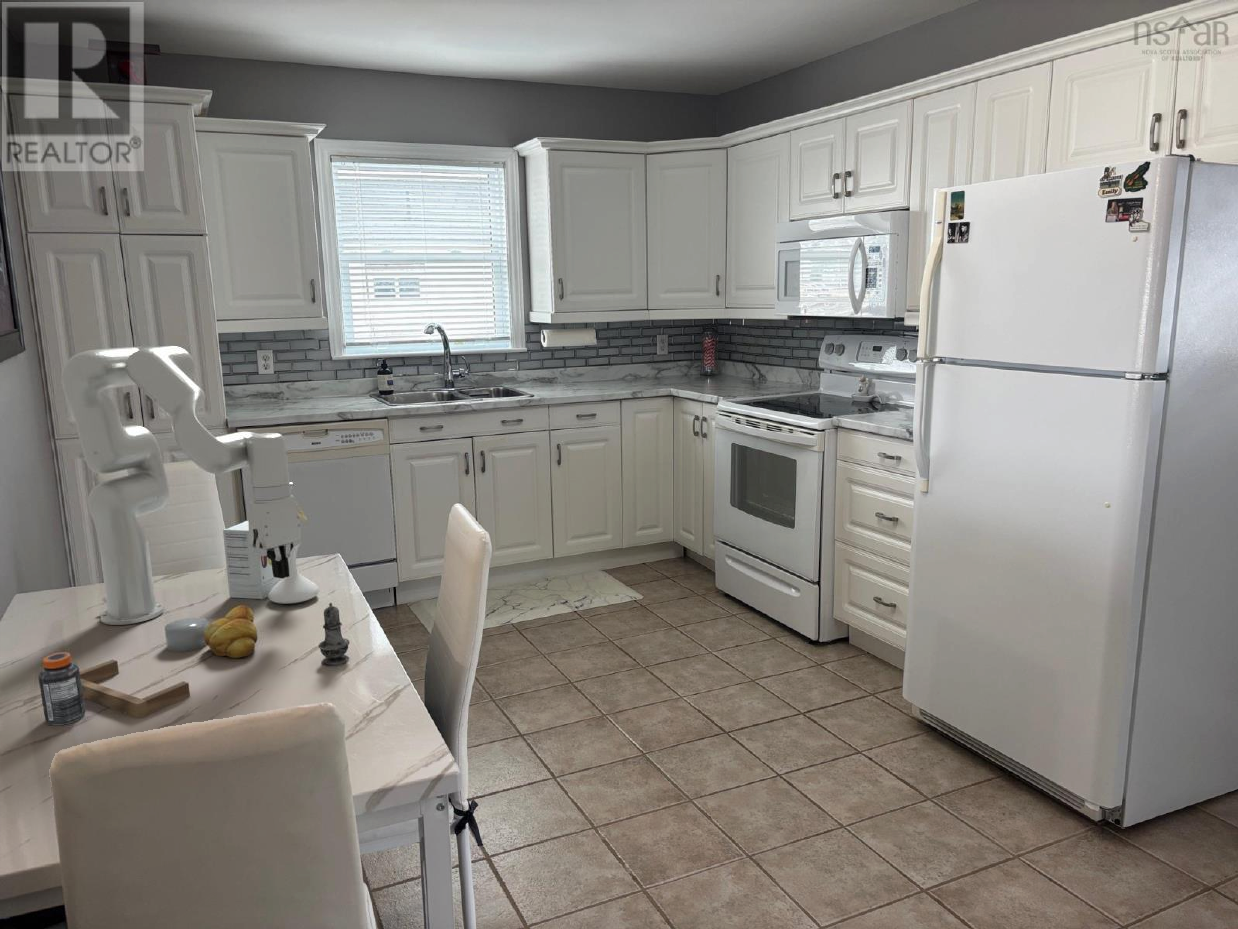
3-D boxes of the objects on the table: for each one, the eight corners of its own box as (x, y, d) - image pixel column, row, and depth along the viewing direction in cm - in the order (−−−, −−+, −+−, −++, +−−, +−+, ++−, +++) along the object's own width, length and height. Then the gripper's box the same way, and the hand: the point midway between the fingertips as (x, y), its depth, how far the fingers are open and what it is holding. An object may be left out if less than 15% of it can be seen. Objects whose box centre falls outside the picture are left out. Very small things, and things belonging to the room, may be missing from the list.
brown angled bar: (63, 691, 164) (61, 678, 163) (114, 671, 172) (112, 659, 171) (139, 718, 152) (138, 704, 152) (190, 696, 161) (188, 683, 160)
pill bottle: (57, 711, 156) (47, 650, 153) (92, 709, 156) (83, 648, 154) (38, 727, 150) (28, 664, 148) (74, 725, 150) (65, 662, 148)
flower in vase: (316, 605, 207) (307, 500, 202) (264, 610, 204) (254, 503, 200) (323, 588, 219) (314, 488, 214) (274, 592, 217) (264, 491, 212)
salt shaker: (357, 656, 177) (352, 599, 174) (338, 668, 171) (333, 609, 169) (332, 653, 179) (327, 596, 176) (313, 665, 173) (308, 606, 171)
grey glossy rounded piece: (158, 648, 183) (156, 627, 182) (193, 635, 190) (191, 615, 189) (183, 655, 179) (180, 634, 179) (218, 641, 186) (216, 621, 185)
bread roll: (264, 656, 178) (260, 618, 176) (211, 667, 173) (206, 628, 172) (253, 636, 189) (250, 600, 187) (203, 646, 184) (199, 609, 182)
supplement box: (263, 600, 211) (256, 531, 208) (228, 598, 213) (221, 529, 210) (285, 587, 220) (279, 521, 217) (252, 585, 222) (245, 519, 219)
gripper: (288, 484, 195) (297, 565, 198) (229, 498, 182) (239, 585, 185) (312, 486, 191) (321, 569, 194) (253, 501, 178) (264, 589, 182)
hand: (281, 576), depth 190 cm, fingers closed
